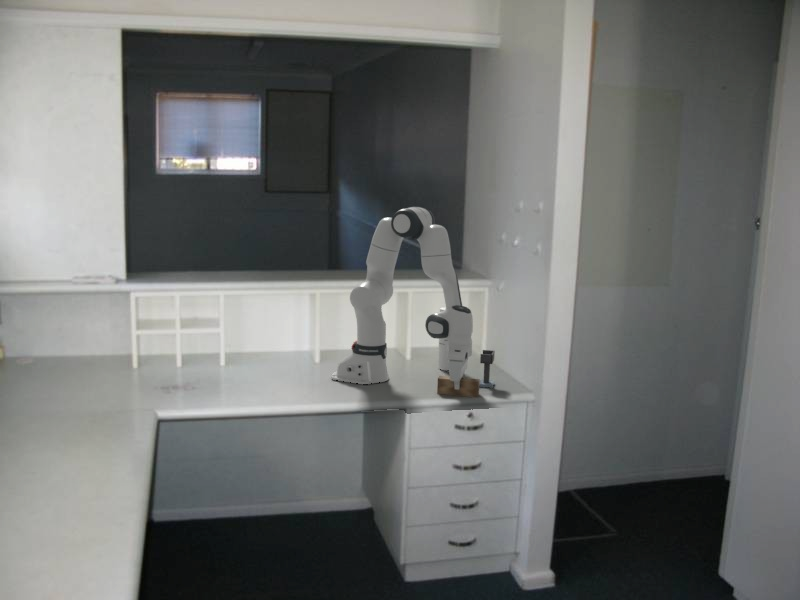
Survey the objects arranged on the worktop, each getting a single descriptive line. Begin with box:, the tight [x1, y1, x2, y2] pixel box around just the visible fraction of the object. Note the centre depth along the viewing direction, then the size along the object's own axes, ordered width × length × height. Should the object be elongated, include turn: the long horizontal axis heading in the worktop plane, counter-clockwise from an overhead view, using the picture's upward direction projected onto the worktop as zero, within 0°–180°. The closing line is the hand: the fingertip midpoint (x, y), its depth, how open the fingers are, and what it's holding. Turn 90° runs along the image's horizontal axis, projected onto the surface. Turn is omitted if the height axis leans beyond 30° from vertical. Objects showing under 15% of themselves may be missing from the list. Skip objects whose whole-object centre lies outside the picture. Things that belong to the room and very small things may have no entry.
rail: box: [436, 375, 481, 398], centre depth 295 cm, size 15×4×6 cm, turn 77°
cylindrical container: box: [437, 306, 449, 371], centre depth 328 cm, size 7×7×25 cm
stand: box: [479, 349, 495, 389], centre depth 307 cm, size 18×7×13 cm, turn 77°
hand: (458, 386), depth 295 cm, fingers open, 5 cm apart
